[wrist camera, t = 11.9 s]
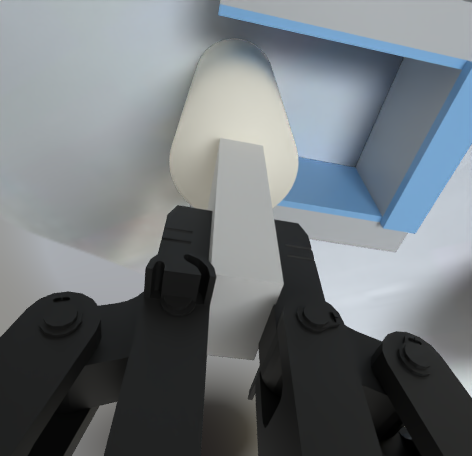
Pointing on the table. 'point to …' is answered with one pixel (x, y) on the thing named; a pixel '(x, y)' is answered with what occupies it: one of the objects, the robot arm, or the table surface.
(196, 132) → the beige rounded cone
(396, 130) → the folding screen
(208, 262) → the robot arm
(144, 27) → the table surface
